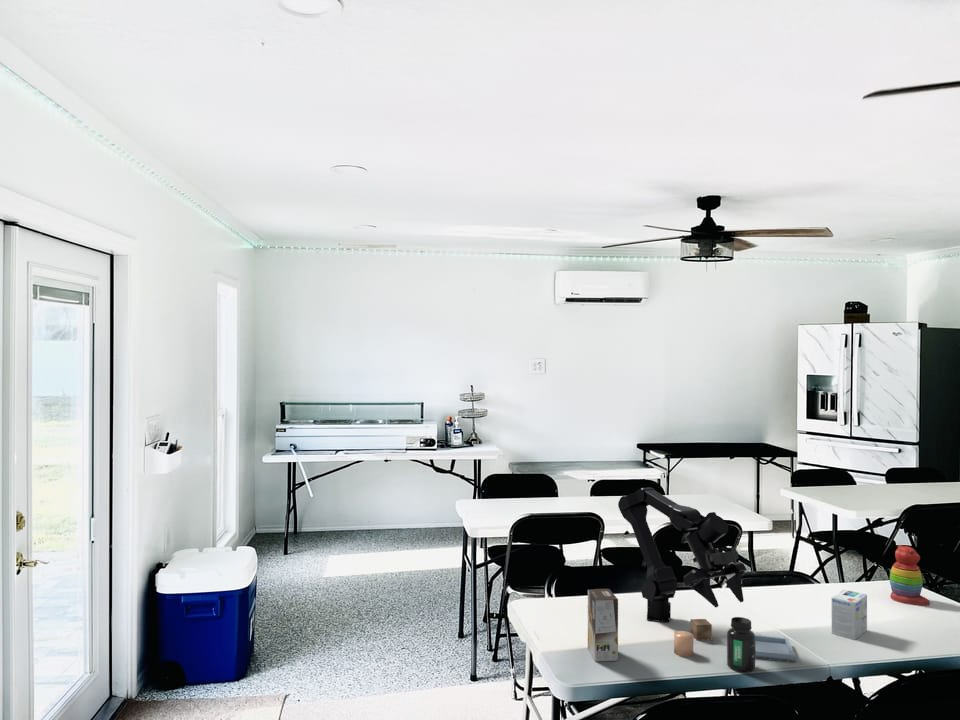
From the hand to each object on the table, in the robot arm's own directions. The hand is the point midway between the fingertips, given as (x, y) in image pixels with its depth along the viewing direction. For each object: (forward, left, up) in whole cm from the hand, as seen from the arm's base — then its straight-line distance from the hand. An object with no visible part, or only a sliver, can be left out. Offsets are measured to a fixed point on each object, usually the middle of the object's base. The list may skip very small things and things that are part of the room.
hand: (729, 604), depth 185 cm
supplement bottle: (+2, -9, -13) cm, 16 cm away
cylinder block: (-12, -4, -13) cm, 18 cm away
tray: (+10, +4, -13) cm, 17 cm away
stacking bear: (+61, +62, -13) cm, 88 cm away
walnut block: (-7, +9, -13) cm, 17 cm away
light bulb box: (+35, +25, -13) cm, 45 cm away
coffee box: (-33, -11, -13) cm, 37 cm away
